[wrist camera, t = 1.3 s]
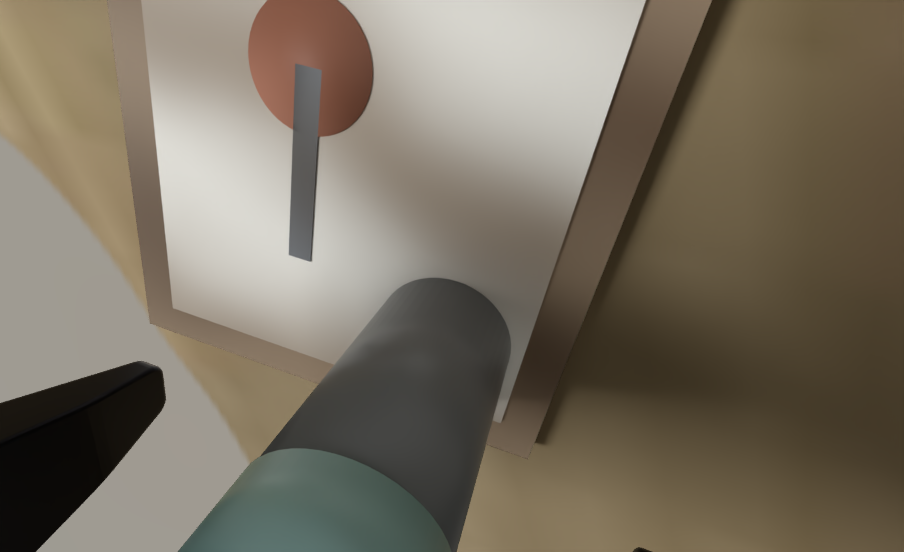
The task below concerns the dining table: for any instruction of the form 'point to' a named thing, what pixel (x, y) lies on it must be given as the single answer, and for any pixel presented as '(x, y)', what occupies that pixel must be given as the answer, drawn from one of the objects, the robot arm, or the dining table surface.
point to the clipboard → (389, 165)
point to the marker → (379, 437)
